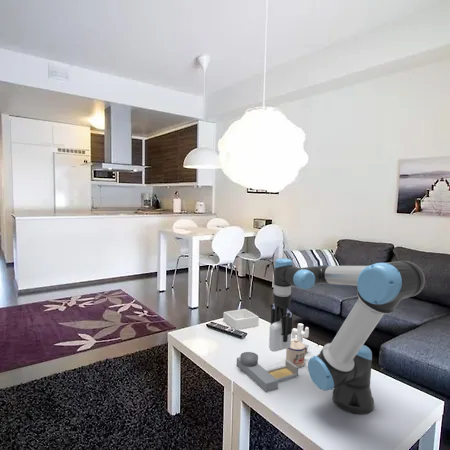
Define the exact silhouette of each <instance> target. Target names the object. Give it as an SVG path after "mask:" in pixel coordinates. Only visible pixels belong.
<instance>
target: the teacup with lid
mask: <svg viewBox="0 0 450 450" xmlns="http://www.w3.org/2000/svg"><path fill="white" fill-rule="evenodd" d="M303 343H304V342H303V341H302V342H299V341H298V340H297V338H293V340H291V346H290V348H287V349H285V350H286V351H285V352H286V353H285V361H286V360H289V361H290V362H292V363H293V364H294V365H296V366H297V367H298V368H302V367H303V366H305V359H306V358H305V357H306V355H307V354H308V349H307V347H306V346H305V345H304V344H305V343H304V344H303Z"/></svg>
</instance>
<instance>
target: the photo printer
mask: <svg viewBox="0 0 450 450" xmlns="http://www.w3.org/2000/svg"><path fill="white" fill-rule="evenodd" d="M281 334H282V323H281V320H280V321H278V322H275V323H273V324H272V325H271V324H270V325H269V342H268V348H269V351H270V352H278V351H283V350H286V349H287V348H290V346H291V341H292V333H291V334H290V335H288V339H287V348H285V349H280V347H281Z"/></svg>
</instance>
